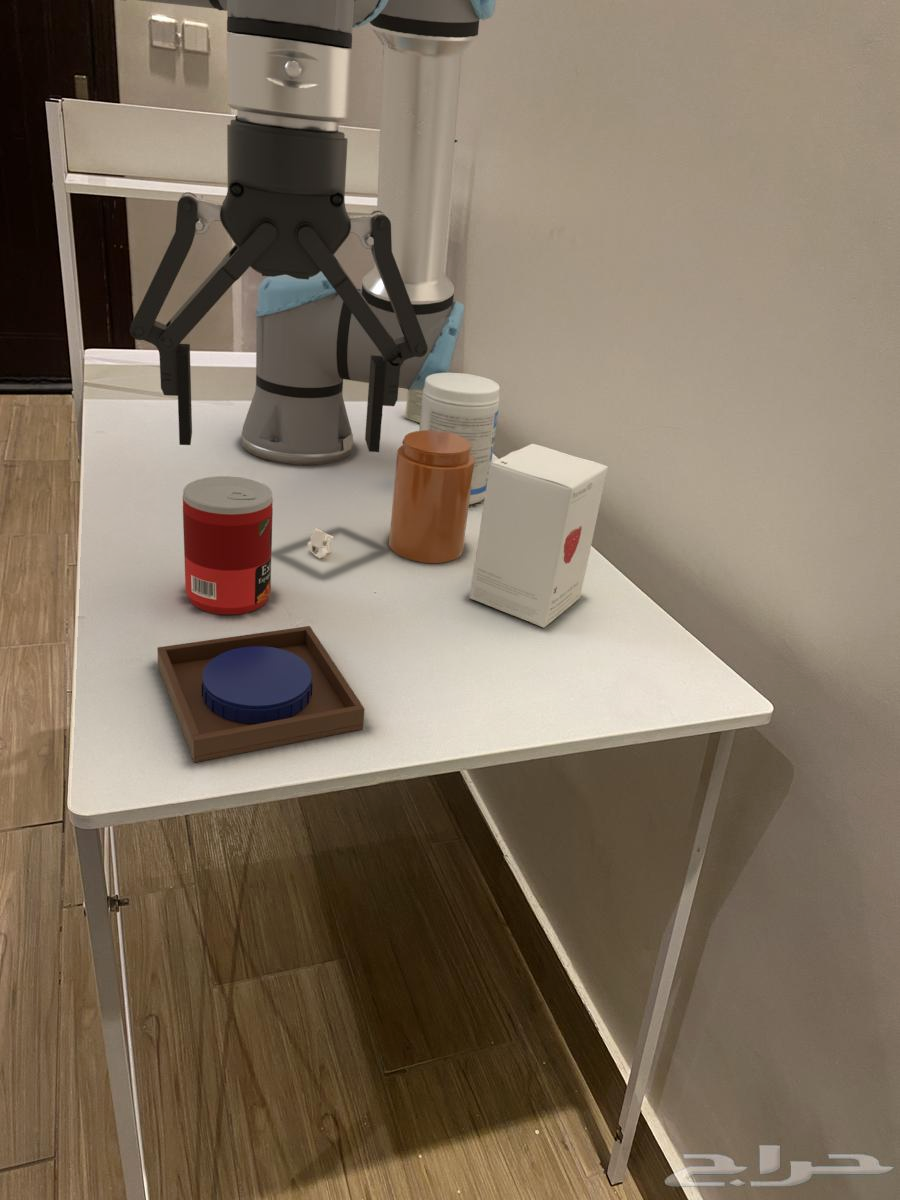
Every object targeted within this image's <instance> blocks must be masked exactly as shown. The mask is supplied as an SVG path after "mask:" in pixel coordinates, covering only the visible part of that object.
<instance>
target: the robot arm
mask: <svg viewBox="0 0 900 1200" xmlns="http://www.w3.org/2000/svg"><path fill="white" fill-rule="evenodd" d="M122 1H125V2H126V1H127V0H121V2H122ZM138 1H139V2H149V3H157V4H167V5H168V4H169V5H177V6H187V7H197V8H205V9H215V10H218V11H225V12H226V16H227V17H226V18H227V19H226V32H227V33H226V88H227V89H226V95H227V99H226V100H227V102H226V103H227V105H228V106H229V107H230V108H231V109H232V110H236V111H237V112H236V114H235V117H234V118H235V119H230V124H227V126H226V136H227V137H226V142H227V143H226V145H227V146H226V149H227V150H226V151H227V152H226V154H227V157H226V158H227V159H226V160H227V165H226V167H227V169H226V171H227V191H226V196H225V198H224V200H223V201H222V202H218V201H214V200H209V199H205V198H200V197H197V195H195V194H194V193H193V192H189V191H187V192H184V193H182V195H180V196H179V200H178V202H177V207H176V219H175V231H174V234H173V235H172V238H171V240H170V242H169V243H168V246H167V248H166V251H165V252H164V254H163V256H162V259H161V261H160V263H159V265H158V266H157V268H156V272H155V273H154V276H153V277H152V280H151V282H150V284H149V286H148V288H147V290H146V292H145V293H144V295H143V298H142V300H141V303H140V304H139V307H138V309H137V311H136V312H135V315H134V317H133V320H132V322H131V323H130V327H129V333H130V336H131V337H132V338H133V339H135V340H137V341H145V342H146V343H149V344H151V345H153V346H154V347H155V348H156V349H157V351H158V354H159V355H158V356H159V374H160V376H159V377H160V389H161V391H162V394H163V396H173V397H177V411H178V412H177V413H178V414H177V415H178V441H179V442H178V443H179V446H191V445H192V444H191V443H192V435H193V415H192V409H193V408H192V379H191V378H192V375H191V373H192V372H191V344H190V343H182V342H183V340H185V338H186V337H187V336H188V335H189V334H190V332H191V331H192V330H193V329H194V328H195V327H196V326H197V325H198V324H199V322H201V320H202V319H203V318H204V317H205V316H206V315H207V313H208V312H209V311H210V310H211V309H212V308H213V307H214V306H215V305H216V304H217V302H218V301H219V300H220V299H221V298H222V297H223V296H224V294H225V293H226V292H227V291H228V290H229V289H230V288H231V287H232V286H233V285H234V283H236V282H237V281H238V280H239V279H240V278H242V276H243V275H244V274H245V273H246V272H247V270H248V269H249V268H251V269H252V270H253V271H254V272H257V273H258V274H261V276H262V277H266V278H264V279H263V280H262V281H261V282H260V283H259V286H258V290H257V305H256V310H255V312H254V313H255V314H254V315H255V318H256V328H255V329H256V334H255V335H256V338H255V339H256V340H255V341H256V342H255V345H256V346H255V347H256V349H255V351H256V353H255V354H256V355H255V357H256V358H255V390H254V394H253V397H252V399H251V402H250V405H249V407H248V410H247V413H246V416H245V419H244V422H243V425H242V430H241V445H242V447H243V448H244V449H245V451H247V452H248V453H249V454H252V455H253V456H256V457H257V458H261V459H264V460H267V461H271V462H276V463H280V464H281V463H282V464H288V465H301V466H302V465H303V466H306V465H311V466H312V465H323V464H331V463H334V462H338V461H342V460H343V459H346V458H347V457H349V456H350V455H351V454H352V452H353V445H354V436H353V435H354V434H353V432H352V427H351V424H350V420H349V416H348V412H347V409H346V408H347V407H346V403H345V400H344V397H343V396H344V394H343V393H344V390H343V389H344V380H346V381H353V382H360V383H367V384H368V390H367V406H366V421H365V435H364V436H365V437H364V441H365V443H366V444H365V445H366V447H367V451H368V453H380V445H381V434H382V422H383V421H382V420H383V409H384V408H383V407H395V406H396V404H397V401H398V399H399V389H404V390H407V391H408V390H409V391H411V390H413V389H414V390H423V389H424V386H425V379H426V377H428V376H429V375H432V374H436V373H449V370H450V371H451V367H452V363H453V359H454V355H455V351H456V347H457V343H458V339H459V336H460V332H461V327H462V323H463V319H464V313H465V304H464V303H462V302H459V301H458V300H454V299H455V298H454V296H455V286H454V284H453V282H452V281H451V280H450V278H448V277H447V275H446V274H445V262H446V249H447V236H448V224H449V212H450V200H451V191H452V190H451V189H452V178H453V166H454V155H455V143H456V142H455V141H456V132H457V131H456V130H457V121H458V120H457V117H458V108H459V107H458V106H459V105H458V104H459V95H460V82H461V70H462V58H463V56H464V52H465V51H466V50H467V49H468V48H469V47H470V46H471V45H472V44H473V43H474V42H475V41H476V40H477V39H478V37H479V30H480V29H479V28H480V20H481V21H485V20H488V19H491V18H492V17H493V16H494V14H495V9H496V2H497V0H138ZM368 23H369V27H370V29H371V31H372V32H373V33H374V34H375V35H376V37H377V38H378V40H379V41H380V42H381V45H382V66H381V68H382V69H381V91H380V92H381V94H380V120H379V121H380V122H379V144H378V145H379V149H378V170H377V171H378V173H377V201H376V210H374V211H372V212H370V214H348V211H347V208H346V201H345V197H346V179H347V178H346V176H347V160H348V159H347V157H348V140H349V139H348V138H346V137H345V133H344V131H343V132H342V131H339V127H340V123H345V122H346V121H347V120H348V119H349V117H350V116H349V114H350V113H349V112H350V93H351V91H350V89H351V71H352V69H351V67H352V50H351V49H353V48H352V47H353V29H354V28H359V27H363V26H365V25H367V24H368ZM214 222H220V223H221V225H222V227H223V228H224V230H225V231H226V233H227V235H228V236H229V237H230V239H231V240H232V242H233V243H234V245H233V246H232V248H231V249H230V250H229V251H227V253H226V254H225V255H224V257H223V259H222V260H221V261H220V262H219V263H218V264H217V266H215V268H214V269H213V270H212V272H210V273H209V275H208V276H206V278H205V279H204V280H203V282H202V283H201V284H200V285H199V286H197V289H196V290H194V292H193V293H192V294H191V295H190V296H189V297H188V299H187V300H186V301H185V302H184V303H183V305H181V306H180V307H179V309H178V310H177V311H176V312H175V313H174V315H173V316H171V318H170V319H169V320H168V321H167V322H166V323H165V324H164V323H162V322H160V321H157V318H158V316H159V314H160V312H161V310H162V308H163V306H164V303H165V301H166V299H167V297H168V296H169V293H170V292H171V289H172V287H173V285H174V283H175V281H176V279H177V277H178V275H179V273H180V271H181V268H182V267H183V264H184V262H185V260H186V258H187V256H188V254H189V252H190V250H191V247H192V246H193V243H194V240H195V236H196V235H204V234H206V233H208V231H209V228H210V226H211V224H213V223H214ZM351 234H354V235H356V236H357V237H358V241H359V243H360V244H361V246H362V247H364V248H365V249H367V250H370V252H371V255H372V258H373V261H374V267H373V268H371V270H370V271H368V272H367V273H366V274H365V275H364V276H363V278H362V280H361V288H358V287H357V286H356V284H355V283H354V282H353V280H352V279H351V277H350V276H349V274H348V273H347V271H345V269H344V267H343V265H342V264H341V263H340V261H339V260H338V258H336V256H335V254H336V253H337V251H338V250H339V249H340V248H341V246H342V245H343V244H344V243H345V242H346V240H347V239H348V237H349V236H350V235H351Z"/></svg>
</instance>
